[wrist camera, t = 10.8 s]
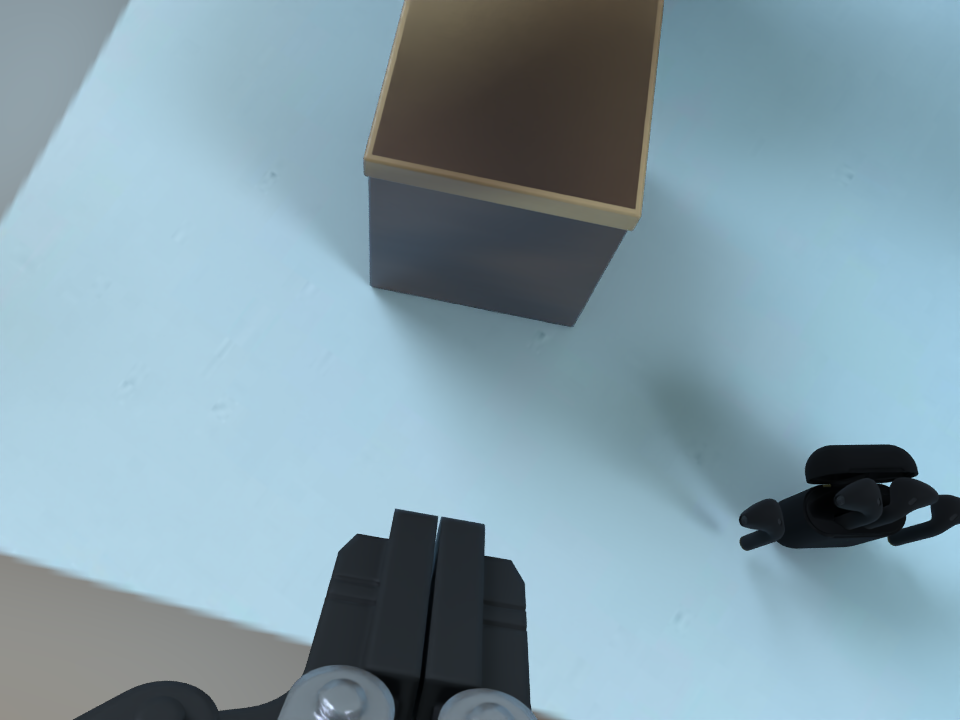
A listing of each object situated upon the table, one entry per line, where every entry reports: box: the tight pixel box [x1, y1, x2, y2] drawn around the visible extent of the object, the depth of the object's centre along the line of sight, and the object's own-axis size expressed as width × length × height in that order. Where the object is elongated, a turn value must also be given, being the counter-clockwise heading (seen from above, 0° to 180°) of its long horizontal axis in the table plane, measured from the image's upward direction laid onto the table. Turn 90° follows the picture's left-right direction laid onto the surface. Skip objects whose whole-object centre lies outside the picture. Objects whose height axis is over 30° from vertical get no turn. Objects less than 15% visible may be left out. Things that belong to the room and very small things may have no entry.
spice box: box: [363, 0, 664, 327], centre depth 26 cm, size 7×8×8 cm
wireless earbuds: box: [739, 445, 960, 551], centre depth 24 cm, size 7×2×5 cm, turn 93°
